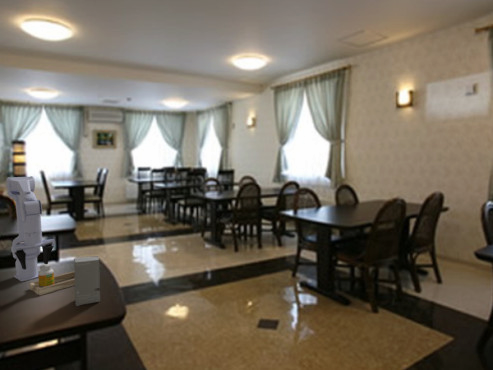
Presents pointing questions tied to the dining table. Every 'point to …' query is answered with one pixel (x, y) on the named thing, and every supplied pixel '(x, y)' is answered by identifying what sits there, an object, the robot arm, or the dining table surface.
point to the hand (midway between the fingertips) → (35, 266)
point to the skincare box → (87, 280)
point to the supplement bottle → (46, 275)
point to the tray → (40, 291)
